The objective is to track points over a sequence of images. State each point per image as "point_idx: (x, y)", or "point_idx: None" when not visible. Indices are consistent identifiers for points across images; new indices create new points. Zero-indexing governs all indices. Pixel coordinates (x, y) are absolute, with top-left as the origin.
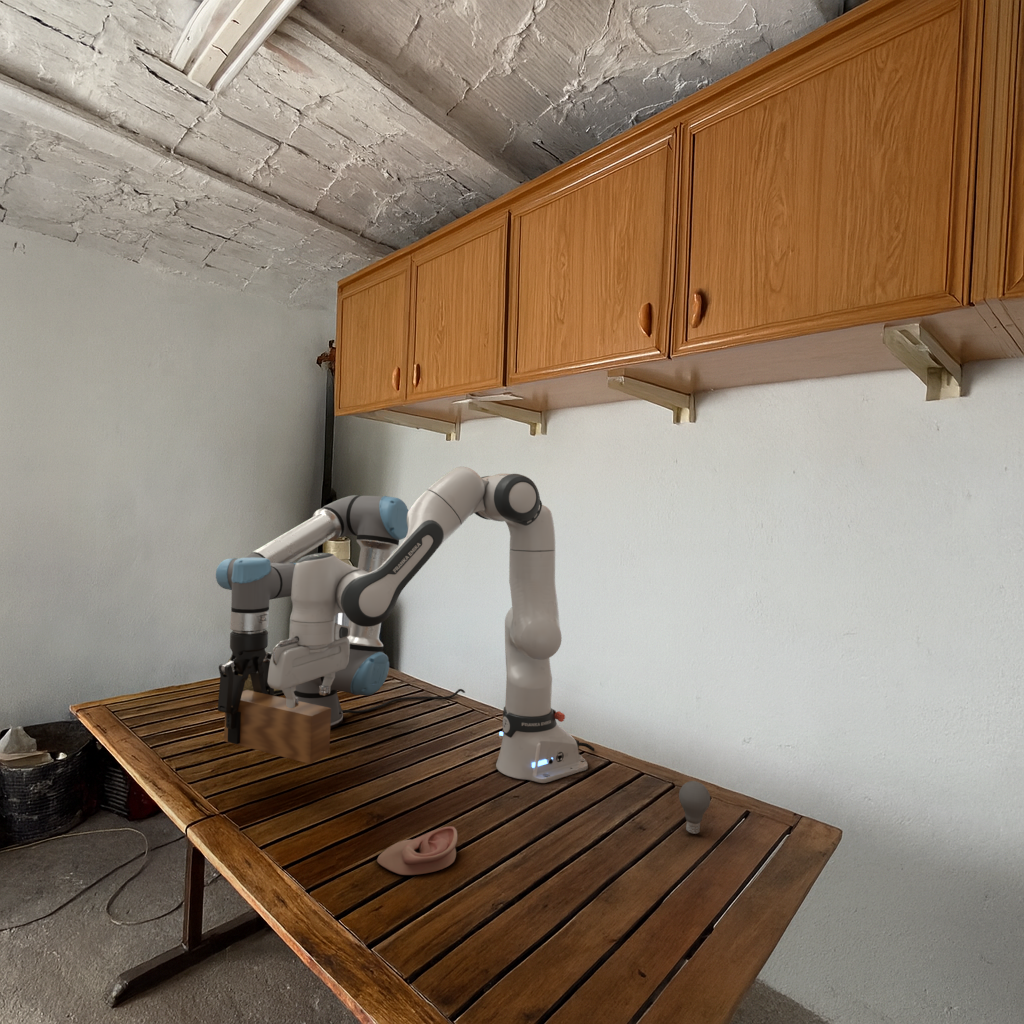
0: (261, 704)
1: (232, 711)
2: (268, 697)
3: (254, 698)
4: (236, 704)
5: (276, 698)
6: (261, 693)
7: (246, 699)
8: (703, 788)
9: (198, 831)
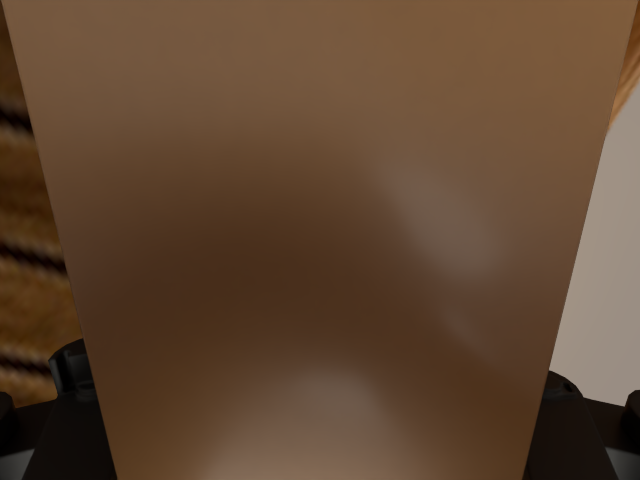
0: (615, 39)
1: (575, 397)
2: (196, 254)
3: (372, 392)
4: (576, 445)
5: (141, 63)
6: (133, 468)
7: (463, 446)
8: None
9: (620, 88)
